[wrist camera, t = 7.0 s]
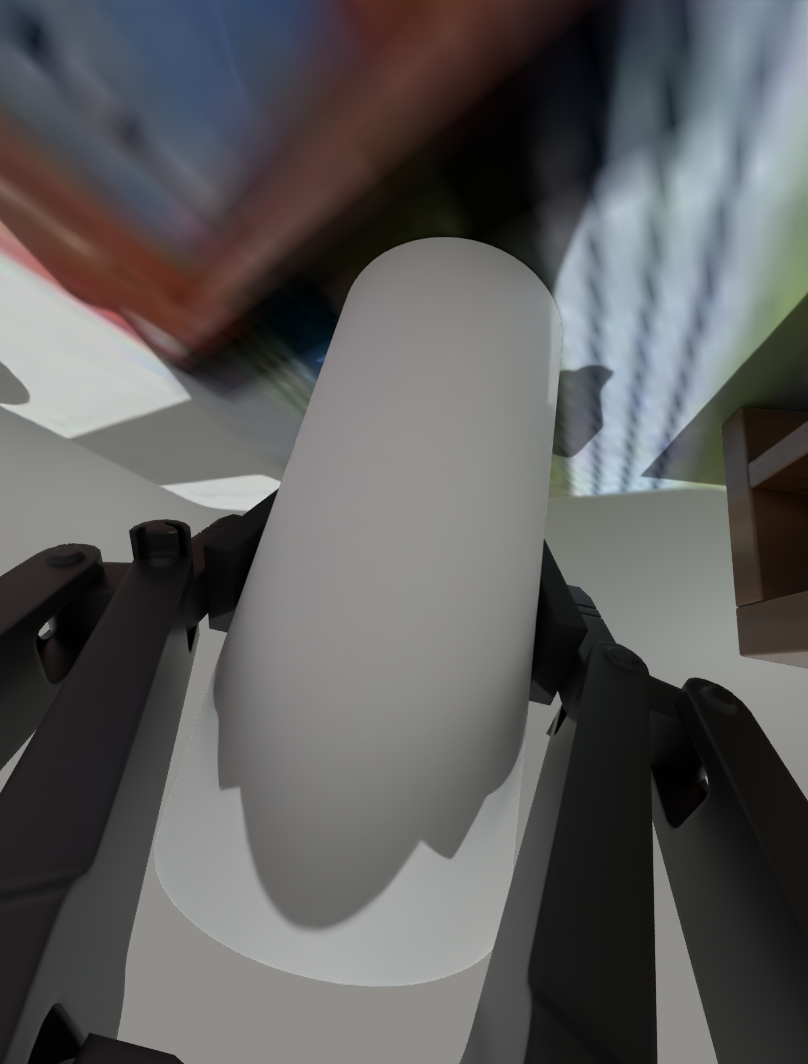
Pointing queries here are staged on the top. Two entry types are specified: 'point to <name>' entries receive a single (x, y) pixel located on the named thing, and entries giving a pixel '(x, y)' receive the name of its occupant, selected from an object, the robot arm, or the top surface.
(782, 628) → the small wooden box
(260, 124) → the top surface
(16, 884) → the robot arm
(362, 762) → the cup
